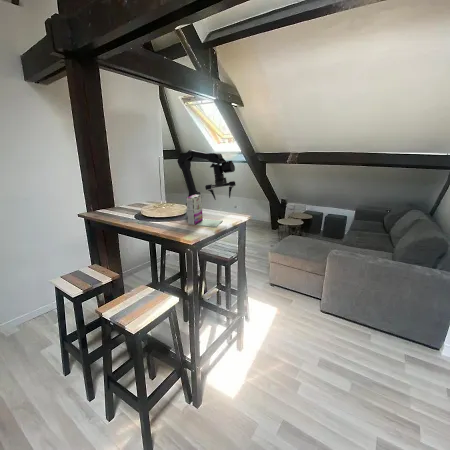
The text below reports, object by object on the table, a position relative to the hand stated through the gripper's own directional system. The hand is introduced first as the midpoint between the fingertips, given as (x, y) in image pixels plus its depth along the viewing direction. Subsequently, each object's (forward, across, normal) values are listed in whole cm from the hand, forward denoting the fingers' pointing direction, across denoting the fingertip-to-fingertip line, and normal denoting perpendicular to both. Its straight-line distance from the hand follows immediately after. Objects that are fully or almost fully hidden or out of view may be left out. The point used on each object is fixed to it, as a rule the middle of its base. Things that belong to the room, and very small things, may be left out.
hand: (222, 198), depth 153 cm
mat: (+12, -9, -10) cm, 18 cm away
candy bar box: (+11, -18, -8) cm, 23 cm away
